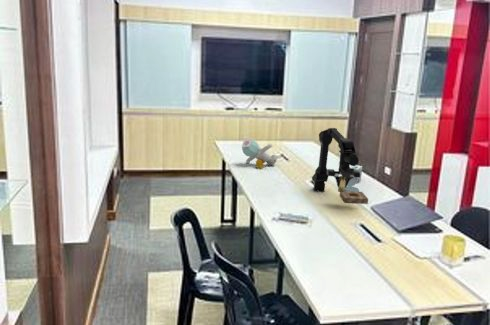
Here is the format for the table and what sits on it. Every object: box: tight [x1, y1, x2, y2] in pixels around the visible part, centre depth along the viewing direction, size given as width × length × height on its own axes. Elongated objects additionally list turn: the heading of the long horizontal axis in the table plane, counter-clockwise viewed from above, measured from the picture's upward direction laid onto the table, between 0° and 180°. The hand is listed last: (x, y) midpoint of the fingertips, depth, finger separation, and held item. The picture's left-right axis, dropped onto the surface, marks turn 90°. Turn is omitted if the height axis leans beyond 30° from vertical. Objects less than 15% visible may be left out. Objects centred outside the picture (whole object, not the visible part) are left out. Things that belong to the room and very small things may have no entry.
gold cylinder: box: [337, 175, 346, 193], centre depth 265 cm, size 4×4×9 cm
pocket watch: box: [345, 175, 360, 192], centre depth 296 cm, size 10×11×15 cm
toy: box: [241, 138, 278, 170], centre depth 342 cm, size 32×18×30 cm
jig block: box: [339, 191, 369, 204], centre depth 279 cm, size 14×14×3 cm
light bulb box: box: [350, 164, 363, 184], centre depth 319 cm, size 11×7×11 cm, turn 149°
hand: (341, 187), depth 266 cm, fingers closed on gold cylinder, 4 cm apart
